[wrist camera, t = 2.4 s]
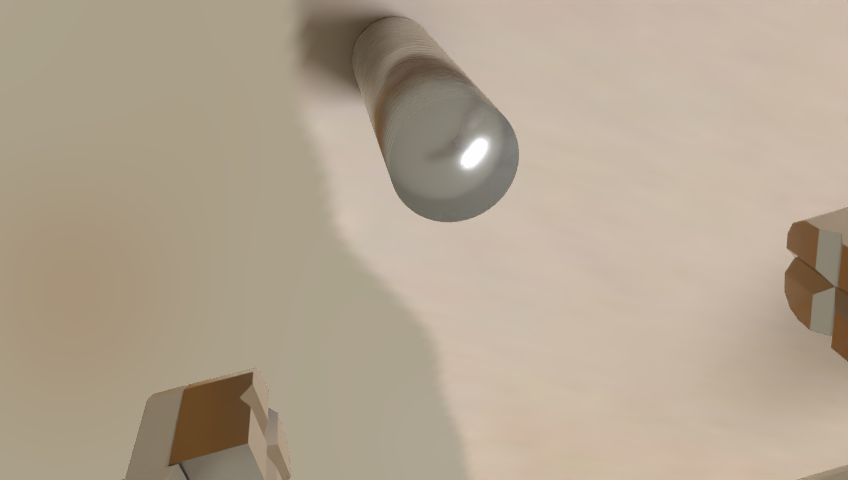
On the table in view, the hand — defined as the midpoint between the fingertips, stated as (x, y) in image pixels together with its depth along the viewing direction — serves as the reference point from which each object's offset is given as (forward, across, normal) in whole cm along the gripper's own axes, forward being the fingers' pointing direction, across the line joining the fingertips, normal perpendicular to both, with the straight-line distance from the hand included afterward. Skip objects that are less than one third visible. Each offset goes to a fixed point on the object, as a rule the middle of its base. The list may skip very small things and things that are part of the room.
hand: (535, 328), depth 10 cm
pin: (+16, 0, 0) cm, 16 cm away
